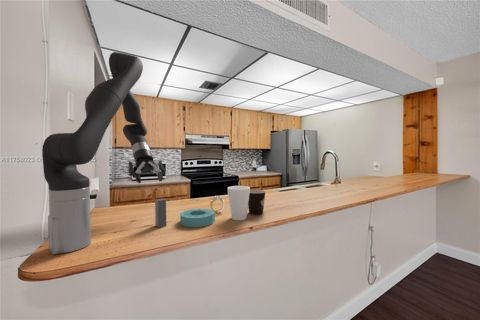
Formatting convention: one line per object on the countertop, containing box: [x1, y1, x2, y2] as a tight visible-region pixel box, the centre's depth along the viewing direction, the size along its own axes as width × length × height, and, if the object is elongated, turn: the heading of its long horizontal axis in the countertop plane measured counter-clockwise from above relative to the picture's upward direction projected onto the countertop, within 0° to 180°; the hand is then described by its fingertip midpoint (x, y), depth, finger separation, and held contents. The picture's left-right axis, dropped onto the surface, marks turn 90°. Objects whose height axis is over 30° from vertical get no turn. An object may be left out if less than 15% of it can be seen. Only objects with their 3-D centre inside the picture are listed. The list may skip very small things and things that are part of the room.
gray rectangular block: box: [154, 198, 167, 229], centre depth 78 cm, size 3×3×10 cm
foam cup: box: [227, 185, 251, 221], centre depth 87 cm, size 10×9×13 cm
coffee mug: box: [248, 189, 266, 216], centre depth 95 cm, size 12×9×10 cm
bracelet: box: [209, 195, 226, 214], centre depth 96 cm, size 7×3×8 cm, turn 115°
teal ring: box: [179, 208, 216, 228], centre depth 83 cm, size 13×13×4 cm
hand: (150, 181), depth 87 cm, fingers open, 8 cm apart
